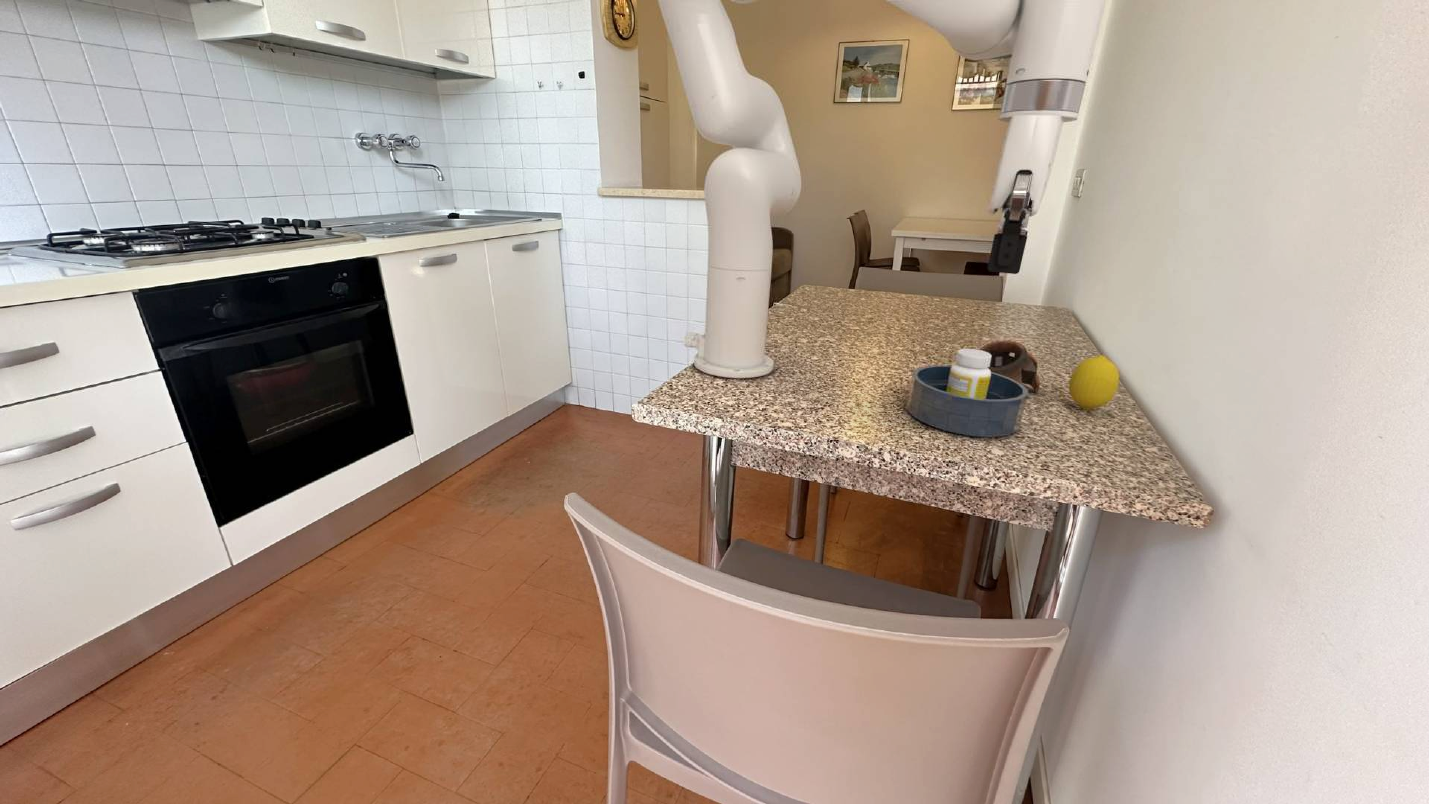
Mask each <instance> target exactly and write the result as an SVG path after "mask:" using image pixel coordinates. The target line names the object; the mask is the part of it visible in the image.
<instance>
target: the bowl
mask: <svg viewBox="0 0 1429 804" xmlns="http://www.w3.org/2000/svg"><path fill="white" fill-rule="evenodd" d="M952 366H953V365H950V364H949V365H948V364H942V365H941V364H940V365H939V364H935V365H926V366H922V367H919V368H916V369H914V370H913V372H912V374H911V379H910V385H909V391H908V395H907V400H906V401H907V402H906V409H907V412H908V413H909V414H910V415H912V416H913V417H914V418H915V419H916V420H918V421H921V422H922V423H924V424H926V425H928V426H931V427H933V428H937V429H940V430H942V431H946V432H949V433H953V434H957V435H963V436H970V437H980V438H981V437H982V438H991V437H992V438H993V437H995V438H996V437H998V438H999V437H1004V436H1009V435H1013V434H1015V432H1017V431H1018V430H1020V426H1021V423H1022V419H1023V414H1024V411H1025V407H1026V403H1027V400H1028V396H1029V389H1027V387H1026V386H1025V385H1024V384H1023V383H1022V384H1021V383H1019V382H1017V381H1015V380H1013V379H1011V378H1008V377H1005V376H1003V375H1000V374H997V373H993V372H991V377H990V382H989V386H988V390H987V395H986V399H979V398H971V397H966V396H961V395H955V394H952V393H948V392H946V390H947V385H948V380H949V375H950V370H951V367H952Z"/></svg>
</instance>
